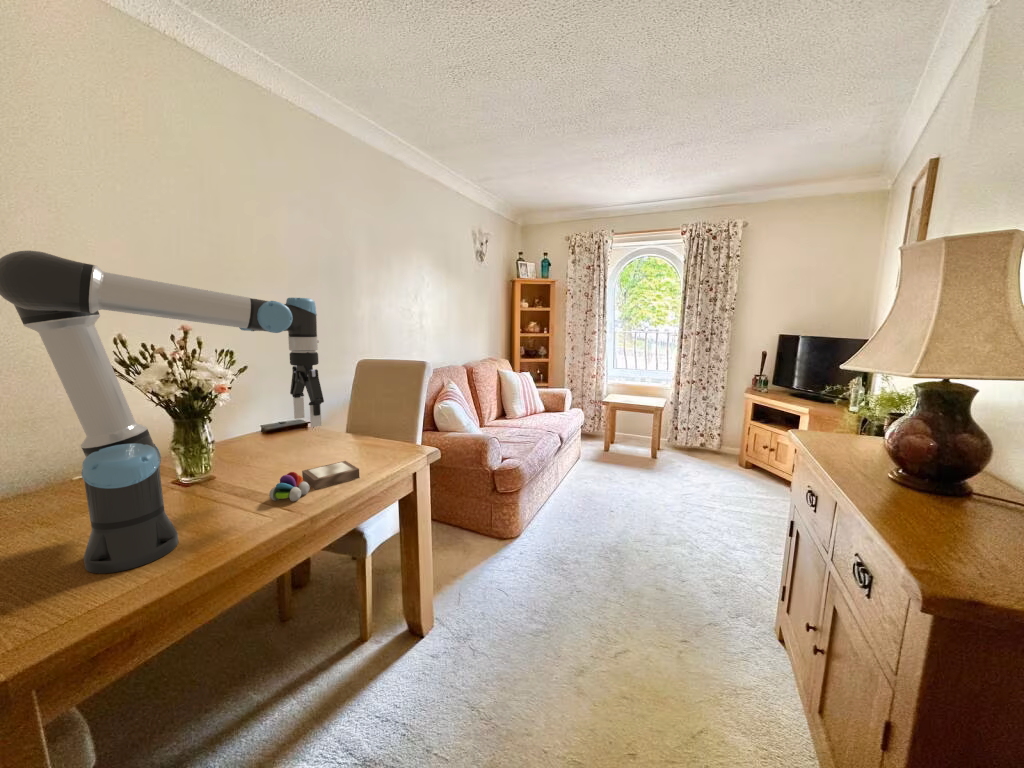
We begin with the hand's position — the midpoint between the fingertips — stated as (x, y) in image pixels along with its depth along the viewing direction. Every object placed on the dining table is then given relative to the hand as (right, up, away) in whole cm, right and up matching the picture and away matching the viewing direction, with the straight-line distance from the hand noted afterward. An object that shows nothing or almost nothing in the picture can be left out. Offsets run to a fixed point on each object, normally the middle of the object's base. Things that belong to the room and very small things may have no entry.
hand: (307, 422), depth 122 cm
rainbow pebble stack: (-3, -22, -3) cm, 22 cm away
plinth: (+2, -19, +11) cm, 22 cm away
